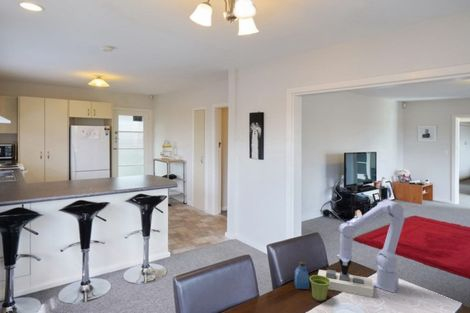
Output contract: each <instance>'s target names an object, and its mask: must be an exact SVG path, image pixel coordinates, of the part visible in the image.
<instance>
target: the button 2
mask: <svg viewBox="0 0 470 313" xmlns="http://www.w3.org/2000/svg"><path fill="white" fill-rule="evenodd" d="M353 282H354V283H359V284H363V279H357V278H354V279H353Z"/></svg>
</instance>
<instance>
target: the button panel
mask: <svg viewBox="0 0 470 313" xmlns="http://www.w3.org/2000/svg"><path fill="white" fill-rule="evenodd" d="M326 273H327V270H324V269H318V273H317V275H321V276H325V277H326ZM354 278H357V279H363V284H359V283H354V282H353V279H354ZM328 279H330V284H329V286H328V290H333V291H337V292H343V293H347V294H353V295H359V296H364V297H369V298H374V284H373V278H372V277H365V276H359V275H355V274H354V275H353V274H349V282H348V281H342V280H340V272H336V279H331V278H328Z"/></svg>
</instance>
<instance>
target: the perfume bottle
mask: <svg viewBox="0 0 470 313" xmlns="http://www.w3.org/2000/svg"><path fill="white" fill-rule="evenodd" d="M298 262H299V264H298V266H297V267H296V269H295V270H294V281H293V283H294V285H295V289H296V290H297V289H298V290H309V289H310V277H311V276H310V275H309V271H308V270H307V268H306V267H307V264H306V262H305V261H303V260H301V261H298Z"/></svg>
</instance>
